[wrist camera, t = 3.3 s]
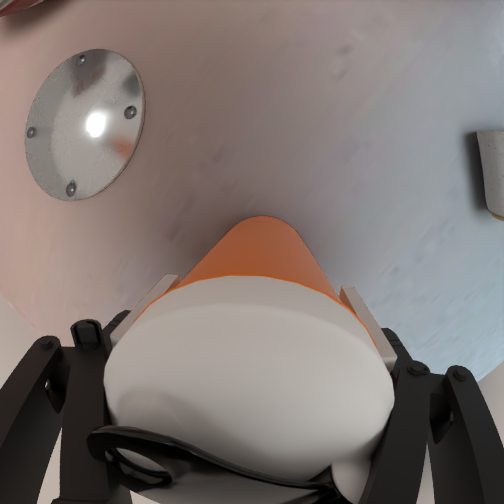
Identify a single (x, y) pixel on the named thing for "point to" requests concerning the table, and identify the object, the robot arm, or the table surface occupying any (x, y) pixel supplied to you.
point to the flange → (84, 124)
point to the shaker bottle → (246, 383)
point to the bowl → (15, 6)
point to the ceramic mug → (493, 169)
